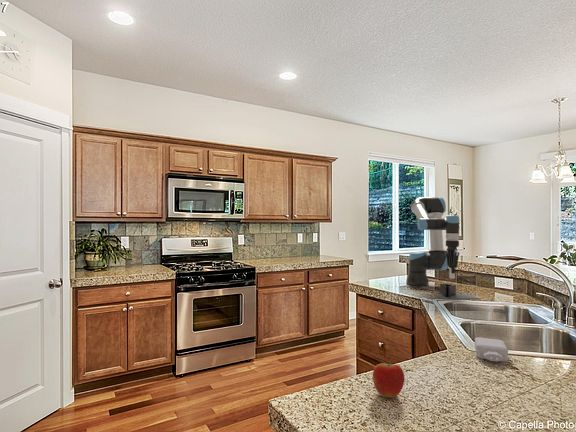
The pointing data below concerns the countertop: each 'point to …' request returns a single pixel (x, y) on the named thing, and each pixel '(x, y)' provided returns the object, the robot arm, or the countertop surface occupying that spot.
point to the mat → (457, 296)
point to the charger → (491, 349)
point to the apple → (388, 379)
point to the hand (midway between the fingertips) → (452, 278)
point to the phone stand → (447, 290)
